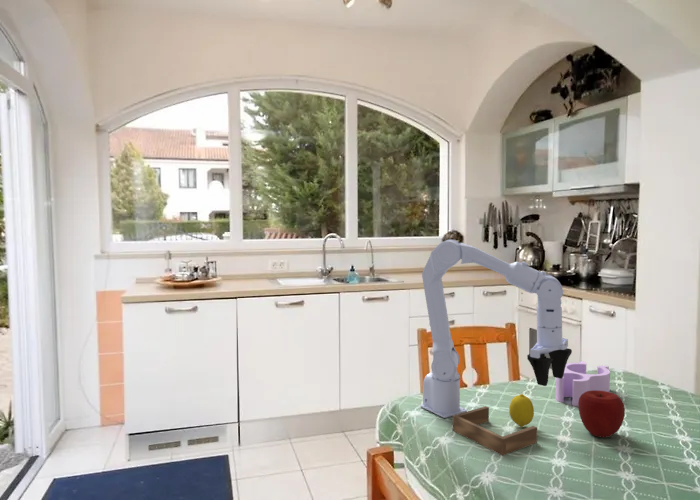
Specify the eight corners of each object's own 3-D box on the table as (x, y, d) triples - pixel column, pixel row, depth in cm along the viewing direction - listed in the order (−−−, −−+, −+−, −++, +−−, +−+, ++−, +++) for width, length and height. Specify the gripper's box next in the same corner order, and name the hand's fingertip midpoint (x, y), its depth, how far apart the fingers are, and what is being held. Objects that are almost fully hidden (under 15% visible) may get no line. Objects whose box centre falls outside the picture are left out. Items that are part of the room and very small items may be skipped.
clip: (590, 410, 132) (591, 384, 131) (543, 398, 140) (544, 374, 140) (617, 391, 146) (617, 367, 145) (572, 381, 155) (573, 359, 154)
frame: (452, 430, 120) (452, 415, 120) (485, 420, 126) (485, 406, 125) (502, 455, 107) (502, 439, 107) (536, 442, 113) (537, 427, 113)
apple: (580, 422, 124) (581, 382, 123) (624, 430, 119) (626, 388, 118) (575, 437, 116) (576, 394, 115) (623, 446, 111) (624, 401, 110)
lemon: (535, 432, 118) (535, 399, 118) (510, 430, 119) (510, 397, 119) (531, 423, 124) (532, 390, 123) (507, 421, 125) (508, 389, 124)
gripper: (549, 333, 116) (550, 392, 116) (579, 323, 125) (580, 377, 126) (521, 329, 121) (522, 385, 122) (552, 319, 130) (553, 371, 131)
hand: (550, 381), depth 124 cm, fingers open, 7 cm apart
